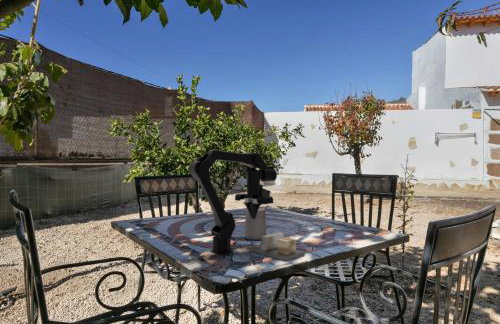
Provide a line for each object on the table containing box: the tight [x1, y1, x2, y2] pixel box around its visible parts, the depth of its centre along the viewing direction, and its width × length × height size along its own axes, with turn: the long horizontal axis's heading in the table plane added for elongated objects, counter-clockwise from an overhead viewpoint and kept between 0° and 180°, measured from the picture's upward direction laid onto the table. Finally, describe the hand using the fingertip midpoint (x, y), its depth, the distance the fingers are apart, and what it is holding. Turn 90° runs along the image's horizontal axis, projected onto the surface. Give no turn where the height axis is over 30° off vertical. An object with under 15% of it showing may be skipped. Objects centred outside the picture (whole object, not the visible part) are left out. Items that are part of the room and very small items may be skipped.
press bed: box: [245, 241, 306, 262], centre depth 145 cm, size 11×22×2 cm, turn 42°
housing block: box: [277, 236, 297, 255], centre depth 140 cm, size 5×5×5 cm
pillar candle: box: [244, 206, 267, 240], centre depth 171 cm, size 10×10×15 cm
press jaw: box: [260, 231, 285, 250], centre depth 145 cm, size 10×3×5 cm, turn 131°
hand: (253, 218), depth 154 cm, fingers closed
